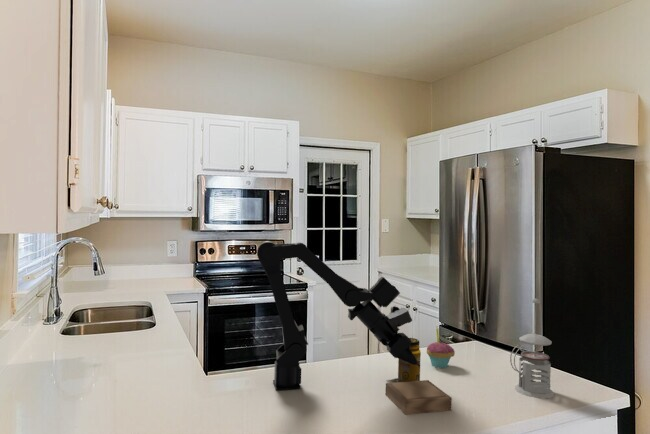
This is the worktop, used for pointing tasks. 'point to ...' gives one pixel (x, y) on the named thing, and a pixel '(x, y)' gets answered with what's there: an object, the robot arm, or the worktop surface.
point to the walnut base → (418, 397)
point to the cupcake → (440, 353)
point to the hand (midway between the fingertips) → (411, 358)
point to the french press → (534, 367)
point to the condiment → (409, 365)
